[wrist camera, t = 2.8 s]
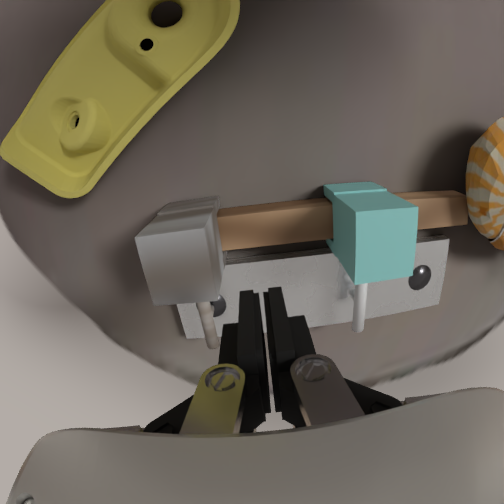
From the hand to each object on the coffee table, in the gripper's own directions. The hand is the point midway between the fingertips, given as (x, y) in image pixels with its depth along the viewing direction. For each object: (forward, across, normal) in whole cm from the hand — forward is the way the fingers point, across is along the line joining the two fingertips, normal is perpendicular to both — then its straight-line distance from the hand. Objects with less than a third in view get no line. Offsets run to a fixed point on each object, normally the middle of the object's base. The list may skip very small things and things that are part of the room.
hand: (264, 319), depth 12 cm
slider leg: (+12, -7, +3) cm, 14 cm away
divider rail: (+12, -6, +3) cm, 14 cm away
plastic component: (+13, +9, -14) cm, 21 cm away
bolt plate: (+12, -5, +6) cm, 15 cm away
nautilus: (+12, -27, 0) cm, 29 cm away
